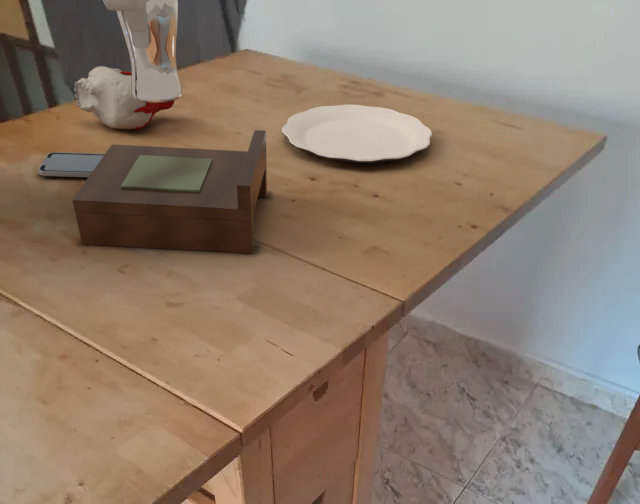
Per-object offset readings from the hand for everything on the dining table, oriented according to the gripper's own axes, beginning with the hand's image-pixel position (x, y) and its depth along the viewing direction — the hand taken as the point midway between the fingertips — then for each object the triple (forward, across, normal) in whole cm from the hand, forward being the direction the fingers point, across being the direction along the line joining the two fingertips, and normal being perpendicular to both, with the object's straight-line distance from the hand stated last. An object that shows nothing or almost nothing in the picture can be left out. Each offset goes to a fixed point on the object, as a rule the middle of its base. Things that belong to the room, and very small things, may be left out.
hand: (150, 38), depth 79 cm
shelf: (+22, 0, +1) cm, 22 cm away
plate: (+22, -32, +25) cm, 46 cm away
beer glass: (+6, 0, 0) cm, 6 cm away
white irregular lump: (+22, -34, -14) cm, 43 cm away
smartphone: (+22, -14, -15) cm, 30 cm away
